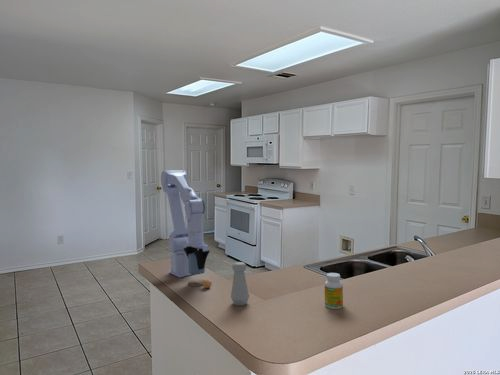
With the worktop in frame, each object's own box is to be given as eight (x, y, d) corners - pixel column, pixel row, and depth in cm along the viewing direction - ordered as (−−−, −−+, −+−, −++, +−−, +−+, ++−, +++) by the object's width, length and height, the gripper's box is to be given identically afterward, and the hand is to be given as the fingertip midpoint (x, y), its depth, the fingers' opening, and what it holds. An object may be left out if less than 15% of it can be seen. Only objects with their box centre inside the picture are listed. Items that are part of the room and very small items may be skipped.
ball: (201, 287, 127) (200, 279, 127) (208, 285, 129) (208, 277, 129) (205, 290, 125) (205, 281, 125) (213, 288, 127) (213, 279, 127)
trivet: (184, 283, 133) (184, 282, 133) (200, 279, 138) (200, 278, 138) (193, 287, 128) (193, 286, 128) (210, 283, 132) (210, 282, 132)
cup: (186, 272, 133) (185, 253, 133) (199, 269, 136) (199, 251, 136) (194, 275, 128) (193, 256, 128) (207, 272, 132) (207, 253, 132)
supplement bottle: (325, 309, 105) (325, 277, 105) (324, 302, 110) (323, 271, 110) (344, 309, 104) (343, 277, 104) (341, 302, 110) (341, 272, 109)
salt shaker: (247, 307, 108) (246, 265, 107) (229, 306, 109) (227, 265, 109) (251, 300, 114) (249, 260, 113) (233, 299, 115) (232, 260, 114)
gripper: (177, 230, 135) (178, 265, 135) (195, 235, 123) (197, 273, 124) (193, 228, 139) (194, 262, 140) (212, 232, 128) (214, 269, 128)
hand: (196, 267), depth 132 cm, fingers closed on cup, 6 cm apart
